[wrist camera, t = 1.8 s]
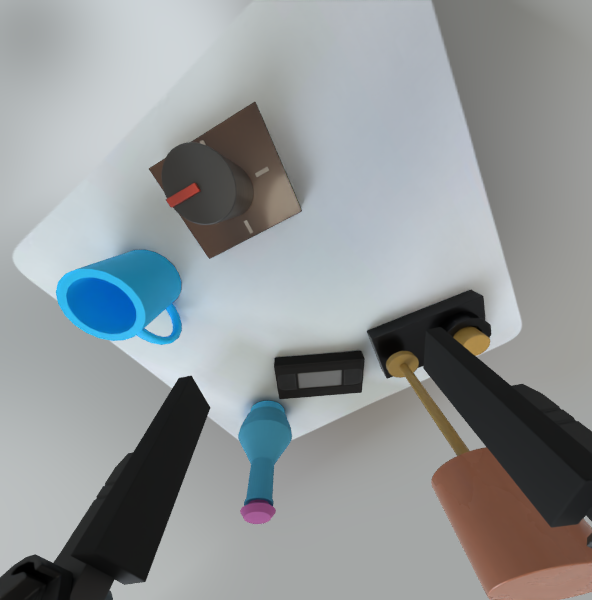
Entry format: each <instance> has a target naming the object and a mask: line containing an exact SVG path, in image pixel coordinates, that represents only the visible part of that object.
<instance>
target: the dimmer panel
mask: <svg viewBox="0 0 592 600" xmlns="http://www.w3.org/2000/svg"><path fill="white" fill-rule="evenodd" d="M192 142H195V143H201V144H204V145H206V146H208V147H211V148H212V149H214V150H215V151H217V152H218V153H220V154H221V155H223V156H224V157H226V158H227V159H229V160H230V161H232V162H233V163H235V164H236V165H238V166H239V167H241V168H242V169H243V170H244V171H245V172H246V174H247V175H248V176H249V178H250V180H251V183H252V186H253V200H252V203H251V205H250V207H249V209H248V210H247V211H246V212H245V213H243V214H242V215H240V216H237V217H234V218H231V219H228V220H225V221H222V222H219V223H216V224H212V225H200V224H196V223H193V222H191V221H189V220H187V219H185V218H184V217H182V216H181V215H180V214H179V215H180V216H181V218H182V219H183V221H184V222H185V224H186V225H187V227H188V228H189V230H190V231H191V233H192V234H193V235H194V237H195V238H196V240H197V241H198V243H199V244H200V246H201V247H202V249H203V250H204V252H205V253H206V255H207V256H208V258H209V259H210V258H212V257H214V256H216V255H218V254H220V253H222V252H224V251H226V250H228V249H230V248H232V247H234V246H236V245H238V244H239V243H241V242H243V241H245V240H247V239H249V238H251V237H253V236H255V235H257V234H259V233H261V232H263V231H265V230H267V229H269V228H270V227H272V226H274V225H276V224H278V223H280V222H282V221H284V220H286V219H288V218H290V217H292V216H294V215H296V214H298V213H300V212H301V211H302V210H301V207H300V205H299V203H298V200H297V198H296V196H295V193H294V191H293V189H292V186H291V184H290V181H289V179H288V177H287V174H286V172H285V170H284V167H283V165H282V163H281V160H280V158H279V156H278V153H277V151H276V149H275V146H274V144H273V142H272V139H271V137H270V135H269V132H268V130H267V128H266V125H265V123H264V121H263V118H262V116H261V114H260V111H259V109H258V107H257V104H256V102H254V103H252V104H250V105H249V106H247V107H246V108H244V109H242V110H241V111H239V112H238V113H236V114H235V115H233V116H231V117H230V118H228V119H227V120H225V121H223V122H222V123H220V124H219V125H217V126H216V127H214V128H212V129H211V130H209V131H208V132H206V133H204V134H203V135H201V136H200V137H198V138H196V139H195V140H193V141H192ZM164 161H165V159H163V160H162V161H160V162H158V163H157V164H155V165H154V166H152V167H151V168H149V170H150V171H151V173H152V174H153V176H154V177H155V179H156V180H157V182H158V183H159V185H160V186H161V188H162V189H163V185H162V178H161V174H162V167H163V163H164ZM163 191H164V189H163Z"/></svg>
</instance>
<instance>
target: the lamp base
mask: <svg viewBox="0 0 592 600" xmlns="http://www.w3.org/2000/svg"><path fill="white" fill-rule="evenodd" d="M438 327H441V328H442V329H444V330H445V331H446V332H447V333H448V334H450V335H451V336H452V337H454V335H455V334H456V333H457V332H458V331H459V330H460V329H462V328H465V327H475V328H476V329H478V330H479V331H481V332H482V333H484V334H485V335H486V336H488V337H490V336H491V325H490V324H489V323H488V322H486V321H485V310H484V299H483V296H482V295H480V294H478V293H476V292H474V291H472V290H469V291H467V292H464V293H462V294H459V295H457V296H454V297H452V298H449V299H447V300H444V301H442V302H439V303H437V304H434V305H431V306H429V307H426V308H424V309H421V310H419V311H416V312H414V313H411V314H409V315H406V316H404V317H401V318H399V319H396V320H394V321H391V322H388V323H386V324H383V325H381V326H378V327H376V328H373V329H371V330H368V331H367V333H368V335H369V338H370V341H371V343H372V346H373V348H374V351H375V353H376V356H377V358H378V361H379V363H380V366H381V369H382V371H383V372H384V374H385V376H386V378H390V377H393V376H392V375H391V374H390V373H389V372H388V370H387V368H386V362H387V360H388V358H389V357H390V356H391V355H393V354H394V353H396V352H399V351H409V352H412V353H413V354H414V355H415V356H416V357H417V359H418V362H419V365H418V368H419V367H422V366H424V353H425V337H426V330H428V329H433V328H438Z"/></svg>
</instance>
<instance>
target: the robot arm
mask: <svg viewBox="0 0 592 600" xmlns="http://www.w3.org/2000/svg"><path fill="white" fill-rule="evenodd" d="M424 370H425V371H426V372H427V373H428V375H429V376H430V377H431V378H432V379H433V381H434V382H435V383H436V384H437V386H438V387H439V388H440V390H441V391H442V392H443V393H444V394H445V396H446V397H447V398H448V400H449V401H450V402H451V403H452V404H453V406H454V407H455V408H456V410H457V411H458V412H459V413H460V414H461V416H462V417H463V418H464V419H465V421H466V422H467V423H468V424H469V426H470V427H471V428H472V429H473V431H474V432H475V433H476V434H477V436H478V437H479V438H480V439H481V441H482V442H483V443H484V444H485V446H486V447H487V448H488V449H489V451H490V452H491V453H492V454H493V456H494V457H495V458H496V459H497V461H498V462H499V463H500V464H501V466H502V467H503V468H504V469H505V471H506V472H507V473H508V474H509V476H510V477H511V478H512V479H513V481H514V482H515V483H516V484H517V486H518V487H519V488H520V489H521V491H522V492H523V493H524V494H525V496H526V497H527V498H528V499H529V501H530V502H531V503H532V504H533V506H534V507H535V508H536V509H537V511H538V512H539V513H540V514H541V516H542V517H543V518H544V519H545V521H546V522H547V523H548V524H549V526H550V527H551V528H553V527H561V526H568V525H576V524H579V523H580V521H581V520H582V519H583V518H584V517H585V516H587V517H588V518H589V519H590V520H591V521H592V431H590V430H589V429H588V428H586V427H585V426H584V425H582V424H581V423H580V422H579V421H575V419H574V418H573V417H572V416H571V415H569V414H568V413H567V412H565V411H564V410H561V409H560V408H559V406H557V405H556V404H555V403H554V402H552V401H551V400H550V399H548V398H547V397H546V396H545V395H543V394H541V393H540V392H538V391H536V390H534V389H532V388H530V387H528V386H526V385H524V384H519V385H513V386H511V385H509V384H508V383H507V382H506V381H505V380H503V379H502V378H501V377H500V376H499V375H497V374H496V373H495V372H494V371H493V370H491V369H490V368H489V367H488V366H487V365H485V364H484V363H483V362H482V361H481V360H479V359H478V358H477V357H476V356H475V355H474V354H472V353H471V352H470V351H469V350H468V349H466V348H465V347H464V346H463V345H462V344H460V343H459V342H458V341H457V340H456V339H454V338H453V337H452V336H451V335H450V334H448V333H447V332H446V331H445V330H444V329H442V328H441V327H438V328H433V329H428V330H426V337H425V353H424ZM209 410H210V406H209V405H208V403H207V401H206V400H205V398H204V396H203V394H202V393H201V391H200V389H199V388H198V386H197V384H196V383H195V381H194V379H193V377H192V376H187V377H182V378H179V379H178V380H177V382H176V384H175V385H174V387H173V388H172V390H171V392H170V393H169V395H168V397H167V398H166V400H165V402H164V403H163V405H162V406H161V408H160V410H159V411H158V413H157V415H156V416H155V418H154V420H153V421H152V423H151V424H150V426H149V428H148V429H147V431H146V433H145V434H144V436H143V438H142V439H141V441H140V442H139V444H138V446H137V447H136V449H135V451H134V452H133V453H128V454H127V455H126V456H125V458H124V459H123V460H122V461H121V462H120V463H119V464H118V465H117V466H116V467H115V469H114V470H113V472H112V474H111V475H110V477H109V478H108V480H107V481H106V483H105V486H103V487H102V489H101V491H100V492H99V494H98V495H97V499H96V500H94V502H93V503H92V505H91V506H90V508H89V509H88V511H87V512H86V514H85V516H84V517H83V518H82V520H81V522H80V523H79V525H78V526H77V528H76V529H75V531H74V532H73V534H72V536H71V537H70V539H69V540H68V542H67V543H66V545H65V547H64V548H63V550H62V551H61V553H60V554H59V556H58V557H57V558H56V560H55V561H54V563H52V562H50V561H48V560H46V559H44V558H41V557H40V556H37V555H32V556H29V557H26V558H24V559H23V560H21V561H20V562H18V563H17V564H15V565H14V566H13V567H11V568H10V569H9V570H8V571H7V572H6V573H5V574H4V575H3V576H1V577H0V600H113V598H112V594H111V591H109V590H110V588H111V585H112V583H113V581H114V579H115V580H117V581H119V582H121V583H122V584H124V585H125V584H133V583H140V582H145V581H146V579H147V576H148V573H149V571H150V568H151V565H152V563H153V560H154V557H155V554H156V552H157V549H158V546H159V544H160V541H161V538H162V536H163V533H164V530H165V528H166V525H167V522H168V520H169V517H170V514H171V511H172V509H173V506H174V503H175V501H176V498H177V496H178V492H179V490H180V487H181V485H182V482H183V479H184V477H185V474H186V471H187V469H188V466H189V463H190V461H191V458H192V455H193V452H194V450H195V447H196V445H197V442H198V439H199V436H200V434H201V431H202V429H203V426H204V423H205V420H206V418H207V415H208V412H209ZM587 546H588V547H590V548H592V533H591V534H590V535H589V536H588V537H587Z"/></svg>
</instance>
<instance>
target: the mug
mask: <svg viewBox="0 0 592 600" xmlns="http://www.w3.org/2000/svg"><path fill="white" fill-rule="evenodd" d="M180 292H181V280H180V276H179V273H178V272H177V270H176V269H175V267H174V265H173V264H171V263H170V262H169V261H168V260H167V259H166V258H165V257H163V256H161V255H159V254H158V253H156V252H152V251H148V250H133V251H130V252H127V253H124V254H121V255H118V256H115V257H112V258H109V259H106V260H103V261H100V262H97V263H94V264H91V265H88V266H85V267H82V268H79V269H76V270H74V271H71V272H69V273H66V274H65V275H64V276H63V277H62V278H61V279H60V280H59V282H58V285H57V290H56V295H57V300H58V304H59V306H60V307H61V309H62V311H63V312H64V314H65V316H66V317H67V318H69V320H70V321H71V322H72V323H73V324H74V325H75V326H77V327H78V328H80V329H82V330H83V331H84V332H86V333H88V334H91V335H93V336H95V337H98V338H101V339H106V340H111V341H116V340H126V339H129V338H132V337H134V336H135V335H137V336H139V337H140V338H142V339H144V340H146V341H148V342H150V343H155V344H160V345H163V344H169V343H172V342H174V341H175V340H176V339H178V338H179V336H180V333H181V331H182V323H181V320H180V316H179V314H178V312H177V310H176V308H175V307H174V305H173V304H172V303H173V302H174V301H175V300H176V299H177V298H178V296H179V294H180ZM165 309H166V310H167V311H168V313H169V315H170V317H171V320H172V323H173V331H172V334H171V335H170V336H168V337H161V336H157V335H155V334H153V333H151V332H149V331H147V330H146V329H145V327H146V326H147V325H148V324H149V323H150V322H151V321H152V320H154V319H155V318H156V317H157V316H158V315H159V314H160V313H161V312H163V311H164V310H165Z"/></svg>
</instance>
